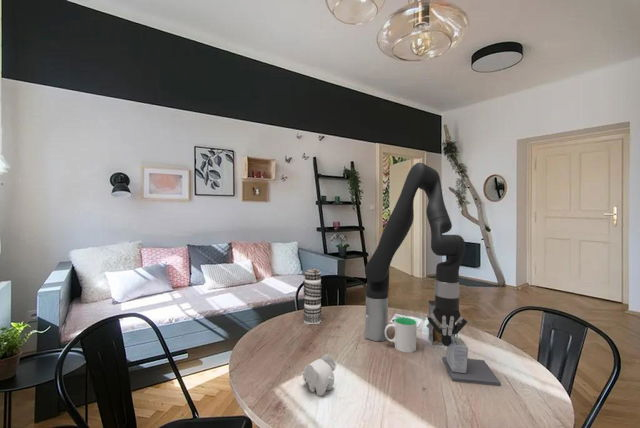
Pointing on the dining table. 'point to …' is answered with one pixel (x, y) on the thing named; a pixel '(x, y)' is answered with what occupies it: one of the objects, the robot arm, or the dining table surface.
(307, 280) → the decorative candle
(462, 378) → the rubber mat
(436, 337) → the coffee box
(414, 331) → the mug
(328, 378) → the elephant figurine
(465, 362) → the medicine box
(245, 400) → the dining table surface
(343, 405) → the dining table surface
